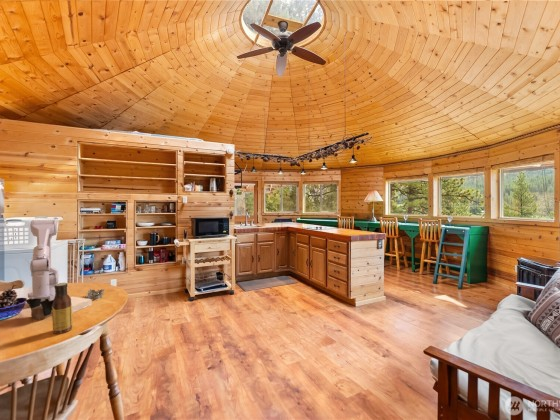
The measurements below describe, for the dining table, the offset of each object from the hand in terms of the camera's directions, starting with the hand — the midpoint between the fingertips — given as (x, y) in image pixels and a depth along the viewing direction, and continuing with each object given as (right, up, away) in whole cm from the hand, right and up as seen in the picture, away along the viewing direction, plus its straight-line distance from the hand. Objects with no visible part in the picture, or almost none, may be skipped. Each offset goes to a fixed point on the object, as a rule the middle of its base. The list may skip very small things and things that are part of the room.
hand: (41, 314), depth 120 cm
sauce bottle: (+20, -2, -13) cm, 24 cm away
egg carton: (+7, -1, +26) cm, 27 cm away
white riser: (+4, -1, +11) cm, 12 cm away
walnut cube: (0, -2, 0) cm, 2 cm away
